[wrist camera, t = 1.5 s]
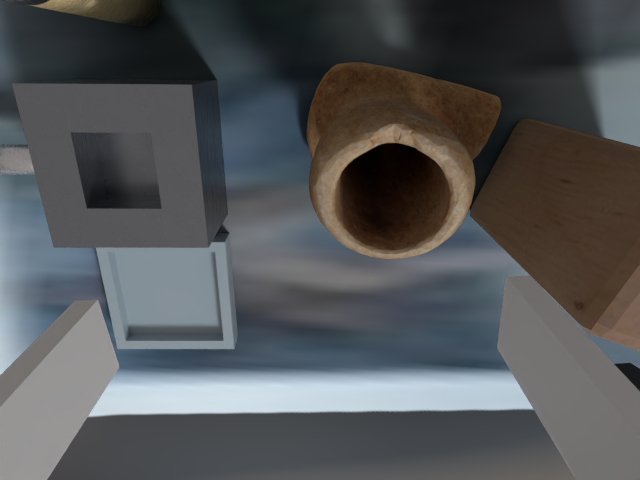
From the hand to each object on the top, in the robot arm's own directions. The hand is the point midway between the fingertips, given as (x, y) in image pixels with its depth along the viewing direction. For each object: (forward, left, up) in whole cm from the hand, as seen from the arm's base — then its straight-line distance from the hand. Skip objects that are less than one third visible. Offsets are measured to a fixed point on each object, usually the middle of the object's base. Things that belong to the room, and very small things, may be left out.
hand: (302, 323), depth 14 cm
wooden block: (+3, +21, -27) cm, 34 cm away
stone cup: (-1, +7, -27) cm, 28 cm away
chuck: (0, -17, -27) cm, 32 cm away
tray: (+14, -14, -27) cm, 33 cm away
